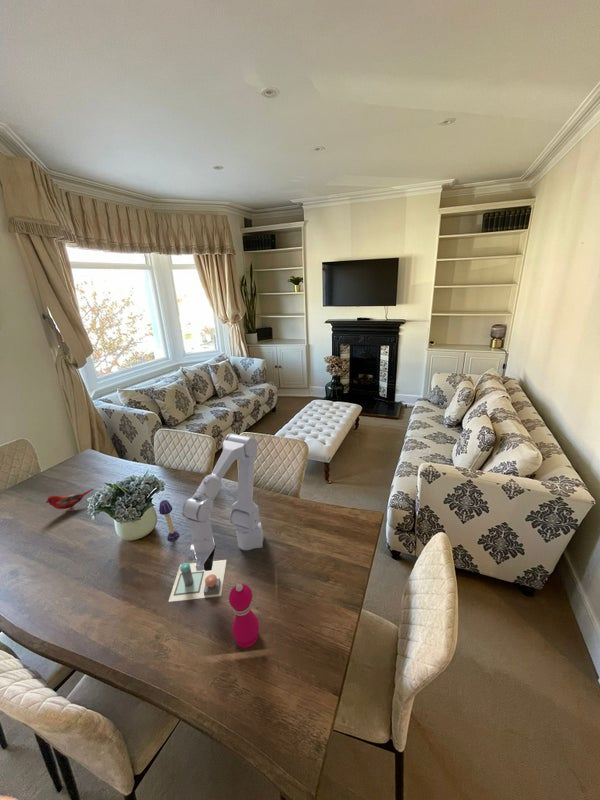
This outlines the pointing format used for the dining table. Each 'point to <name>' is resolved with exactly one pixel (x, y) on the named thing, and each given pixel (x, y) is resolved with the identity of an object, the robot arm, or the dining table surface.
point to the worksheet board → (198, 583)
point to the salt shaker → (186, 574)
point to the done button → (211, 580)
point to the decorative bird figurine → (65, 501)
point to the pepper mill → (243, 616)
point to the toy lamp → (168, 519)
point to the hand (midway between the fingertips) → (208, 568)
